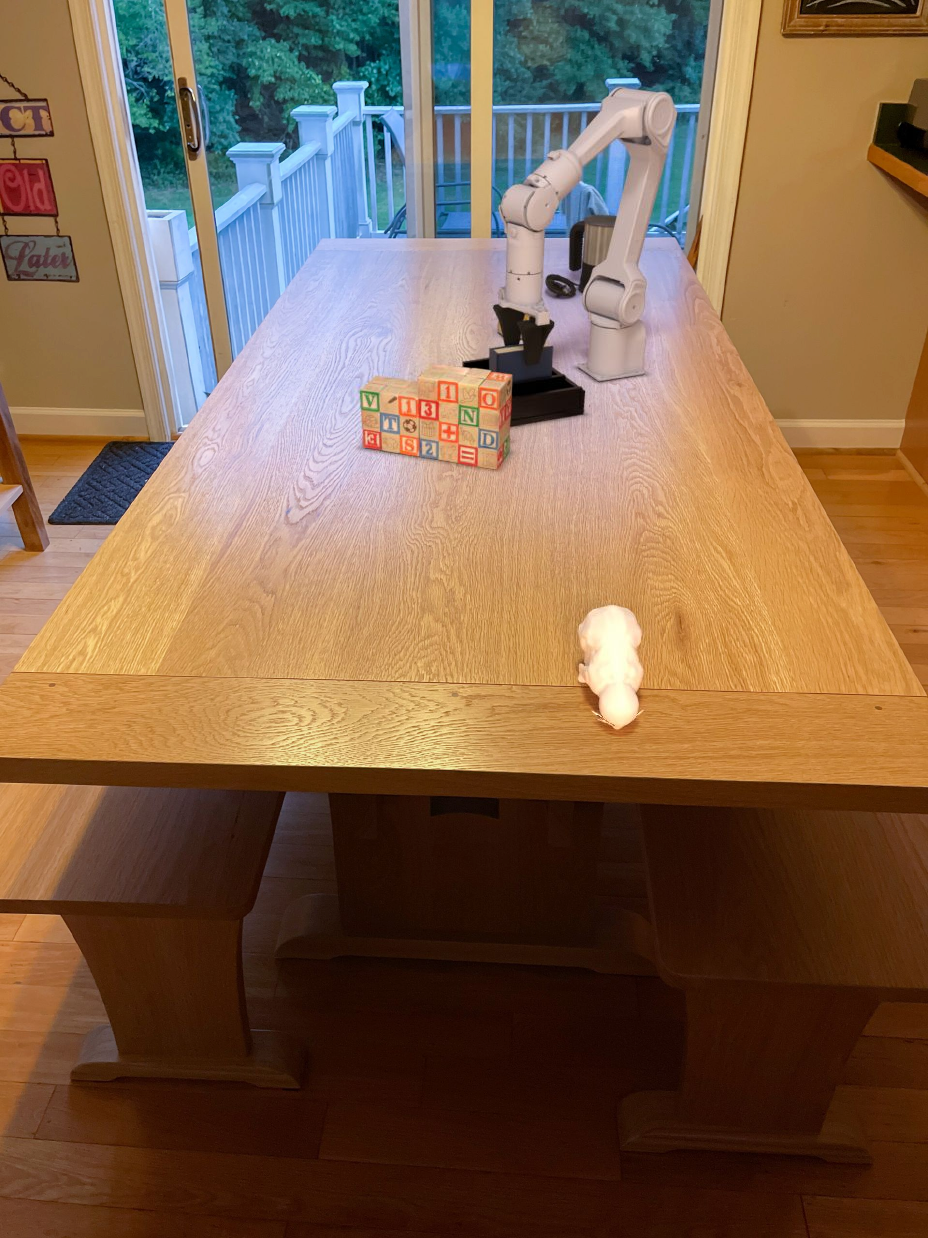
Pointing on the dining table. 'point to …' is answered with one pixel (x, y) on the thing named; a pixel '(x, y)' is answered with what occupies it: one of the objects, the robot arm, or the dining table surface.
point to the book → (520, 362)
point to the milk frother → (584, 252)
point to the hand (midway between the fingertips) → (521, 356)
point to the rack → (540, 396)
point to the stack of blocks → (440, 415)
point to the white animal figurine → (612, 662)
